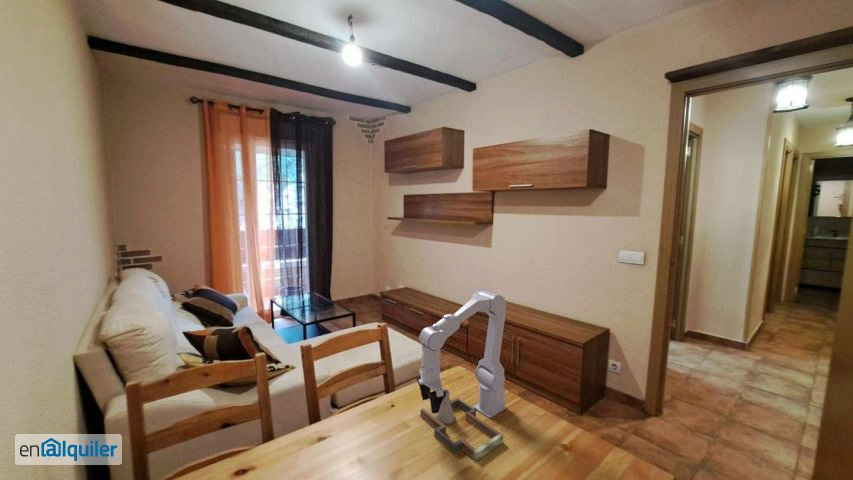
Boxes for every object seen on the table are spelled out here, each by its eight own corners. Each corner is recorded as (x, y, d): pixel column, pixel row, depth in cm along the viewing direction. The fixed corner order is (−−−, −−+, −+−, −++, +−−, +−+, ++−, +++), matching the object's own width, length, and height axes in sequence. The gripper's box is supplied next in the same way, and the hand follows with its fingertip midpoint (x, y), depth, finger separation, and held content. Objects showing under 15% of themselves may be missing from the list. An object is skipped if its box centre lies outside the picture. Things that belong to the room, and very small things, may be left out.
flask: (454, 426, 115) (454, 398, 114) (432, 423, 117) (433, 395, 115) (456, 413, 122) (457, 387, 121) (436, 410, 124) (437, 384, 122)
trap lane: (451, 400, 130) (451, 394, 129) (508, 438, 110) (508, 431, 109) (414, 419, 118) (414, 412, 118) (469, 465, 98) (469, 457, 98)
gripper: (411, 357, 113) (410, 396, 115) (428, 379, 100) (428, 422, 102) (430, 354, 116) (429, 391, 118) (450, 374, 103) (449, 416, 105)
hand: (430, 405), depth 110 cm, fingers open, 7 cm apart
